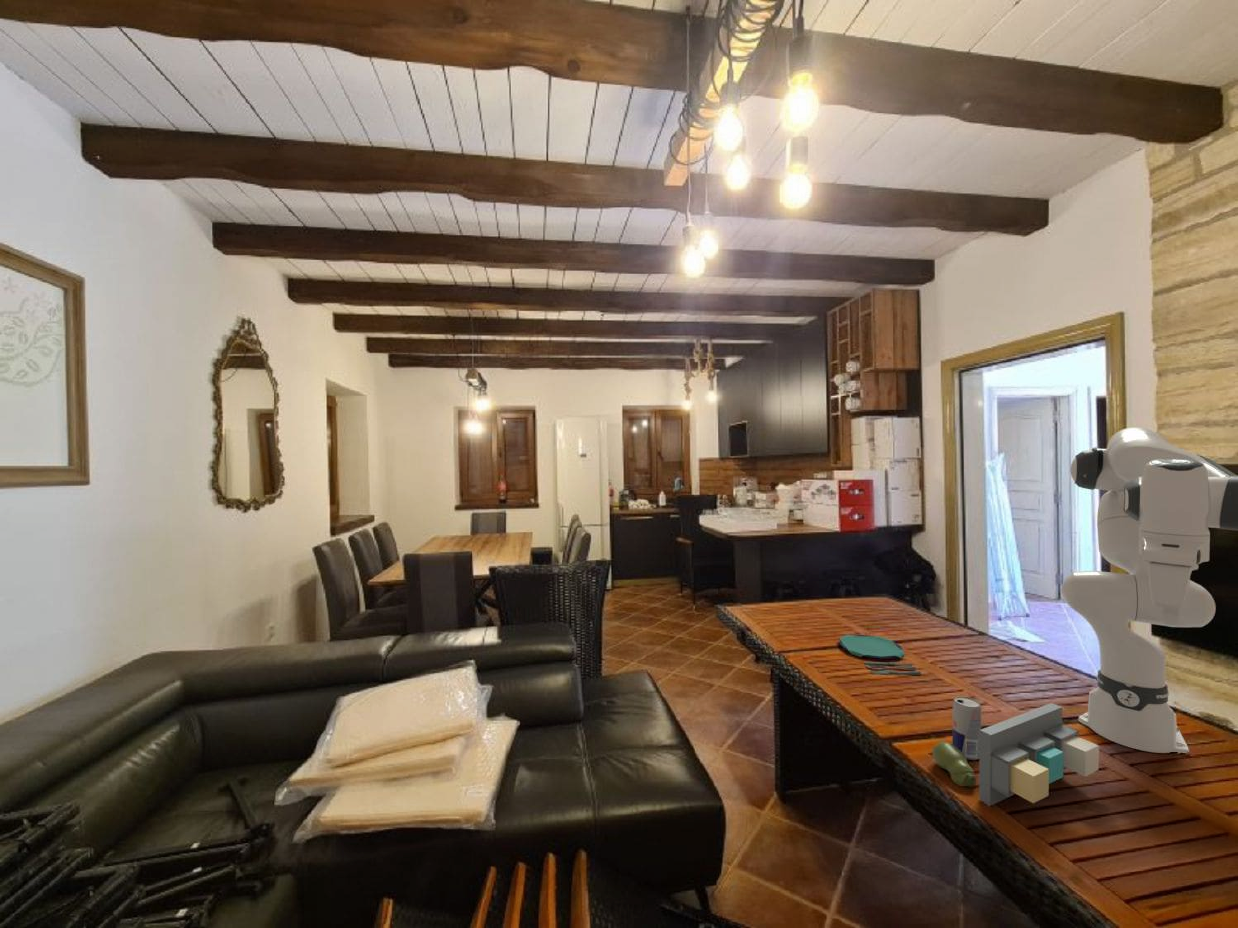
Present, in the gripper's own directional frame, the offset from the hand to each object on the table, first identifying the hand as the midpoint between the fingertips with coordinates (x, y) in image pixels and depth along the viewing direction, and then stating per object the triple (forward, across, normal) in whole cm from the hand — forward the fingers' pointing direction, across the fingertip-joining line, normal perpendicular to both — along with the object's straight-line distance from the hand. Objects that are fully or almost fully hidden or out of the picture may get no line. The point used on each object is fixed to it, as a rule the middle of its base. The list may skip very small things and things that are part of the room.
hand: (1171, 622), depth 95 cm
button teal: (+33, +9, -16) cm, 38 cm away
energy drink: (+37, +4, -31) cm, 49 cm away
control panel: (+37, +8, -18) cm, 42 cm away
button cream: (+33, +1, -12) cm, 35 cm away
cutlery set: (+38, -37, -69) cm, 87 cm away
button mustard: (+33, +18, -17) cm, 41 cm away
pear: (+38, +14, -30) cm, 50 cm away
